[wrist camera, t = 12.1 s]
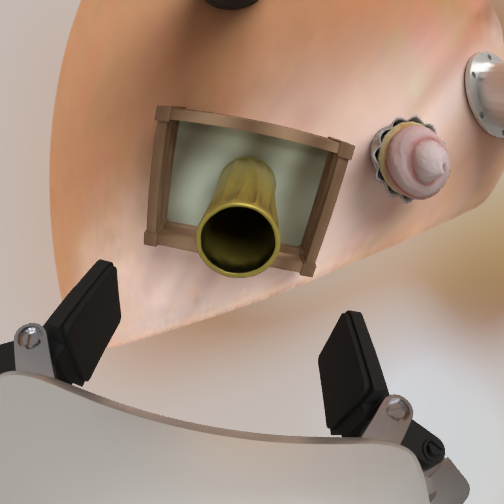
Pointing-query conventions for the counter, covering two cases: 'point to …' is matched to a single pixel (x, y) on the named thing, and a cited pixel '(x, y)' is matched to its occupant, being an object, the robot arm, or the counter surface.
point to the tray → (221, 154)
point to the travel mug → (230, 3)
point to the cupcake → (410, 159)
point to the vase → (241, 221)
